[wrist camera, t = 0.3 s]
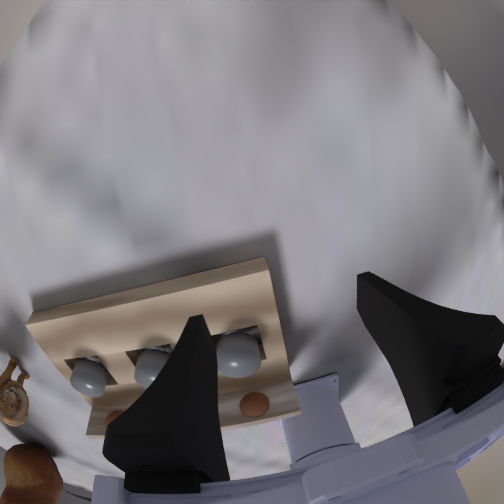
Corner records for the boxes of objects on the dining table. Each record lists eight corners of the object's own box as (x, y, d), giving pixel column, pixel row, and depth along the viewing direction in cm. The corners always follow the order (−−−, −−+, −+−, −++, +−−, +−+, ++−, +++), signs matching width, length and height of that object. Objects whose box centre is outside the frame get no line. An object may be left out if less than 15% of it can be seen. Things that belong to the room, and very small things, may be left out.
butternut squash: (1, 425, 33) (-23, 521, 11) (48, 439, 35) (30, 551, 13) (33, 456, 40) (19, 541, 18) (79, 468, 41) (70, 562, 19)
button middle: (182, 371, 25) (181, 388, 23) (147, 377, 25) (145, 393, 23) (166, 346, 23) (164, 363, 22) (130, 352, 23) (126, 368, 22)
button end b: (114, 381, 25) (110, 396, 23) (87, 383, 25) (82, 397, 23) (96, 357, 23) (91, 373, 22) (68, 360, 23) (62, 375, 22)
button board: (288, 369, 29) (301, 415, 24) (99, 399, 29) (90, 439, 24) (264, 256, 23) (280, 303, 17) (33, 312, 22) (8, 353, 17)
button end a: (261, 355, 25) (264, 372, 24) (222, 364, 25) (223, 381, 23) (253, 327, 24) (256, 344, 22) (210, 337, 24) (211, 354, 22)
